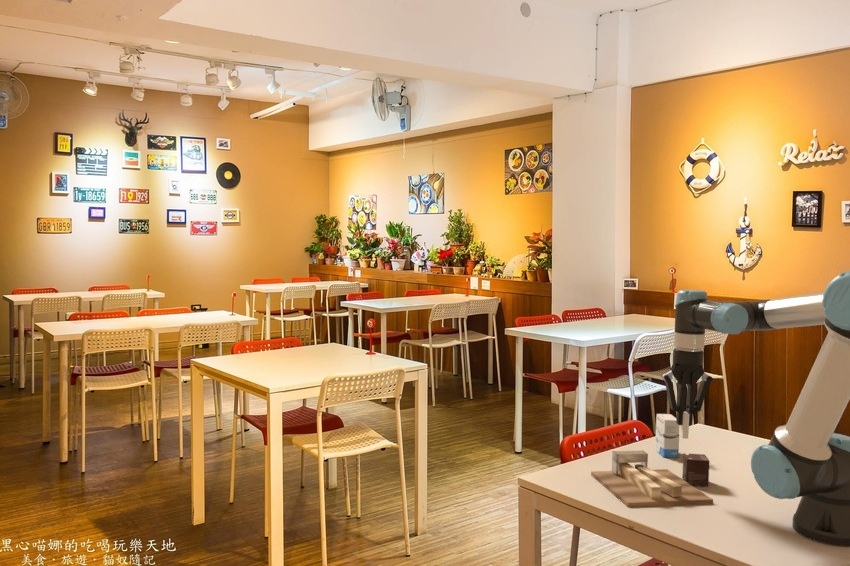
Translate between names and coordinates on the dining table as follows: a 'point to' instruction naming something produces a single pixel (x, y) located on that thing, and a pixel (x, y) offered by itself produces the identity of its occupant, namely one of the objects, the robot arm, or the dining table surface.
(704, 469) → the box
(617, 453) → the lock collar
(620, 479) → the walnut board
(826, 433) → the robot arm
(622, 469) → the fixed tong arm
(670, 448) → the ink box
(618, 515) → the dining table surface
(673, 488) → the bar
